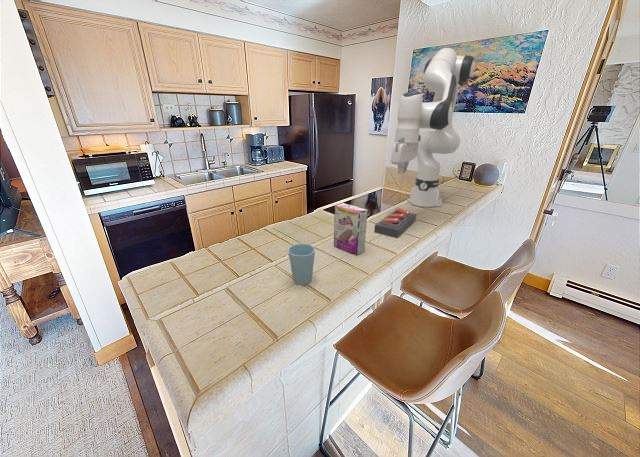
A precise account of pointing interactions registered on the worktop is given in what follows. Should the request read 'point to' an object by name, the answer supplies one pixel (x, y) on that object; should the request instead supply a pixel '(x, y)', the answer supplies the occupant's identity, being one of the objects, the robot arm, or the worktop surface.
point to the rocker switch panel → (395, 225)
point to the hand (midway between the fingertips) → (402, 172)
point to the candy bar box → (350, 228)
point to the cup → (302, 263)
